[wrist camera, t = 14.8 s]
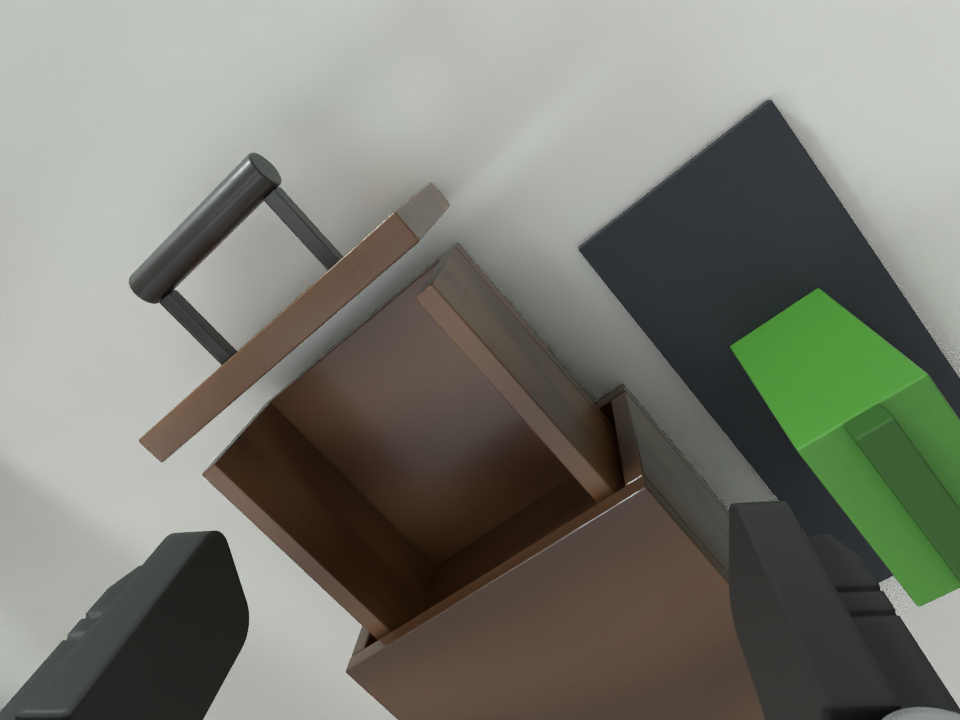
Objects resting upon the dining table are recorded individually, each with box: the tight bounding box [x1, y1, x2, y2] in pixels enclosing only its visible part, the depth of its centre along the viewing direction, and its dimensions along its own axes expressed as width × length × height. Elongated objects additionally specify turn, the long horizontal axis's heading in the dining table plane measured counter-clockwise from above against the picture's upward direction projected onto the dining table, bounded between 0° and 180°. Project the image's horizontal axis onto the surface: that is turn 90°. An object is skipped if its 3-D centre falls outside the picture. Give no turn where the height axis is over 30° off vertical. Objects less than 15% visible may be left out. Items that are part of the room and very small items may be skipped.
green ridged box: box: [730, 288, 960, 606], centre depth 25 cm, size 8×4×10 cm, turn 40°
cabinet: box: [346, 384, 765, 720], centre depth 31 cm, size 16×15×9 cm
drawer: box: [129, 153, 625, 640], centre depth 28 cm, size 19×13×7 cm
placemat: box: [579, 100, 960, 583], centre depth 30 cm, size 22×9×1 cm, turn 40°
